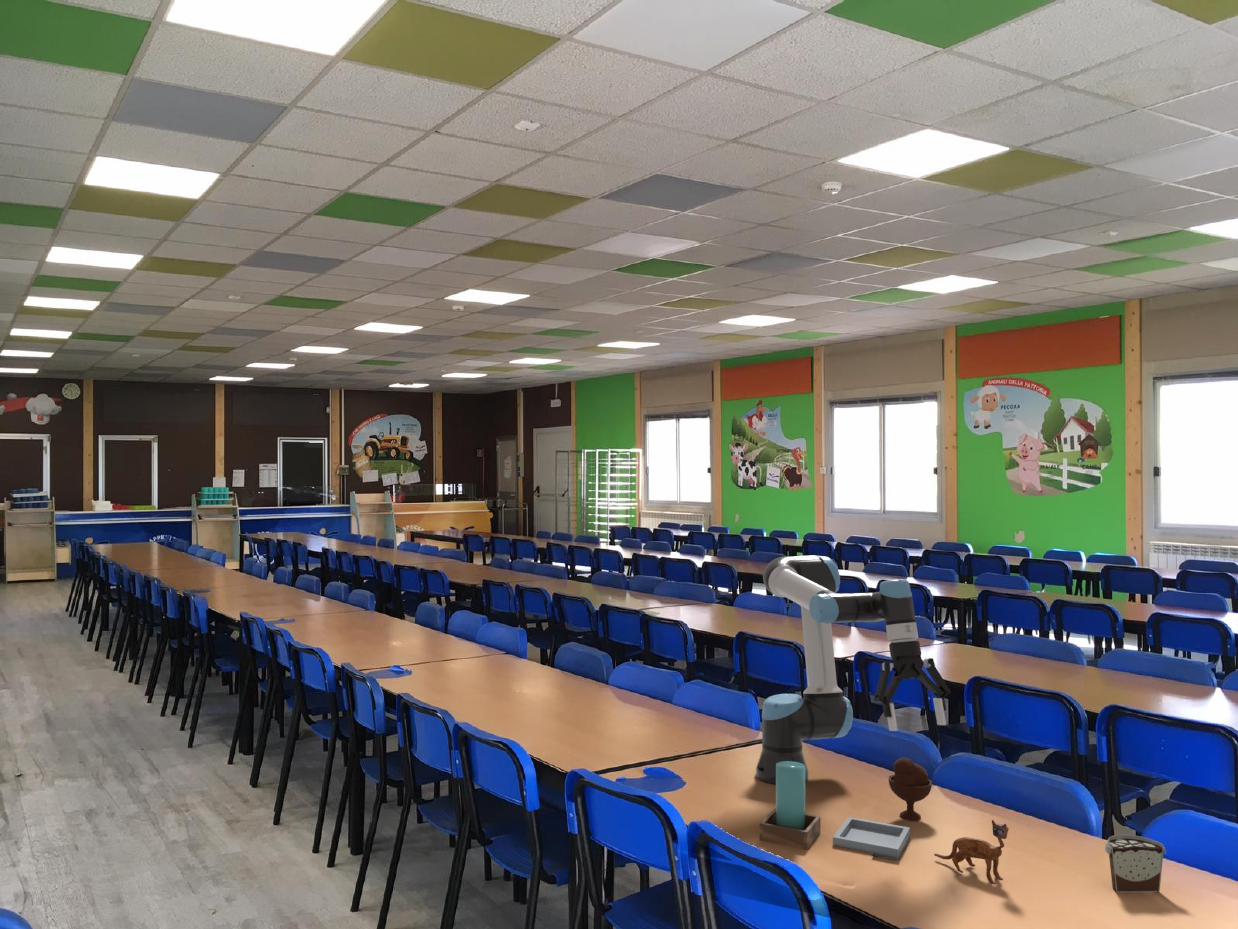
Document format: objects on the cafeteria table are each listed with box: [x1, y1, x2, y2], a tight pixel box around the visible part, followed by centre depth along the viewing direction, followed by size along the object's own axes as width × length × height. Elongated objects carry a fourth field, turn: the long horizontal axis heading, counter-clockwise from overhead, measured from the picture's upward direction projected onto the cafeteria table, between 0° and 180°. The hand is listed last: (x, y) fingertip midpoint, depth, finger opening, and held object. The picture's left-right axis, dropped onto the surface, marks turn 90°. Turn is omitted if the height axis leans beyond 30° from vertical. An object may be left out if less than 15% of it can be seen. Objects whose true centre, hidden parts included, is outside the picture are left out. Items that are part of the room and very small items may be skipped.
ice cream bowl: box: [888, 757, 933, 822], centre depth 236 cm, size 11×11×15 cm
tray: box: [832, 816, 911, 861], centre depth 219 cm, size 15×15×2 cm
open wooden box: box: [759, 807, 821, 850], centre depth 221 cm, size 12×12×4 cm
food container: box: [1104, 834, 1167, 894], centre depth 196 cm, size 12×6×10 cm, turn 92°
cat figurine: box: [933, 819, 1009, 885], centre depth 203 cm, size 18×6×13 cm, turn 41°
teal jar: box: [775, 761, 806, 831], centre depth 221 cm, size 7×7×17 cm
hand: (917, 728), depth 225 cm, fingers open, 13 cm apart
